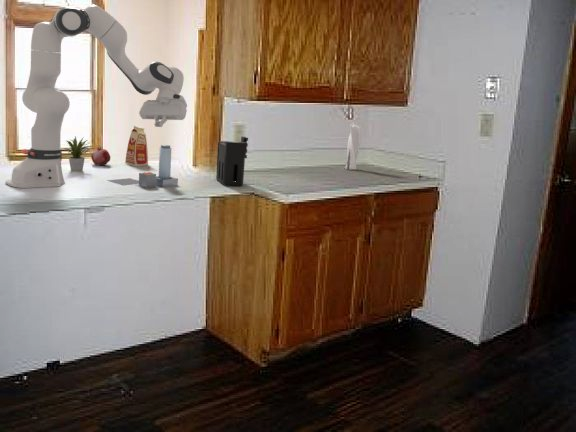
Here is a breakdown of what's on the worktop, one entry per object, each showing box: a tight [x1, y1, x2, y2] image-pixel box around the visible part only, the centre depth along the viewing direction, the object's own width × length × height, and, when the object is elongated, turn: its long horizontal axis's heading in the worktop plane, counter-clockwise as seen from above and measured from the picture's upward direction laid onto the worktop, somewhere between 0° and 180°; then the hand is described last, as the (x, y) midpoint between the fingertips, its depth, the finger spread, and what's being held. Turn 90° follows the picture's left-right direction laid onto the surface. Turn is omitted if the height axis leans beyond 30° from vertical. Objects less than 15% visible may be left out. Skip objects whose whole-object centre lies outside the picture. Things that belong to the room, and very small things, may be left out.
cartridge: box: [158, 144, 172, 179], centre depth 256 cm, size 5×5×17 cm
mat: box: [106, 178, 139, 186], centre depth 257 cm, size 12×12×1 cm
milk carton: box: [124, 125, 149, 167], centre depth 308 cm, size 9×9×20 cm
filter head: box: [135, 172, 179, 190], centre depth 255 cm, size 16×10×6 cm, turn 140°
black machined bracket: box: [215, 136, 249, 187], centre depth 279 cm, size 12×21×22 cm, turn 21°
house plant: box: [63, 135, 92, 173], centre depth 275 cm, size 14×14×16 cm
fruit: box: [90, 146, 111, 166], centre depth 297 cm, size 9×10×10 cm
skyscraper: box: [342, 121, 362, 171], centre depth 354 cm, size 8×8×28 cm
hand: (158, 126), depth 249 cm, fingers closed
